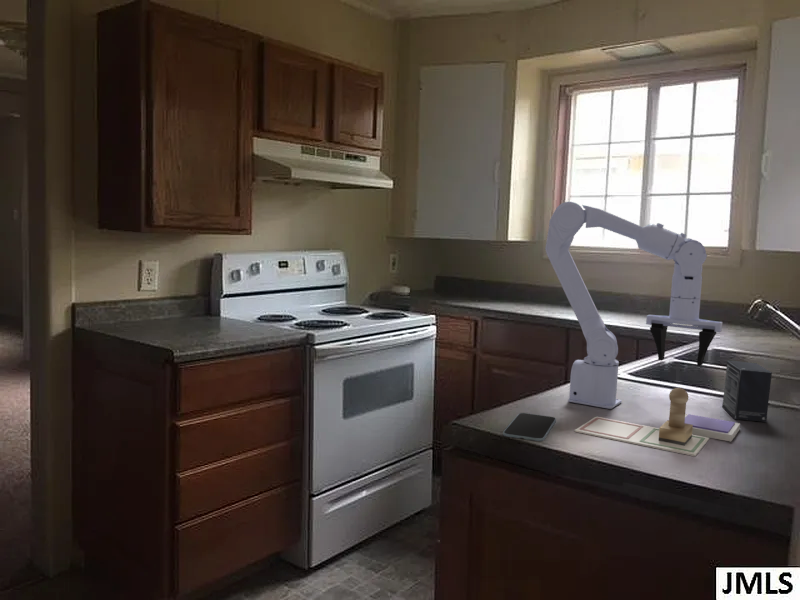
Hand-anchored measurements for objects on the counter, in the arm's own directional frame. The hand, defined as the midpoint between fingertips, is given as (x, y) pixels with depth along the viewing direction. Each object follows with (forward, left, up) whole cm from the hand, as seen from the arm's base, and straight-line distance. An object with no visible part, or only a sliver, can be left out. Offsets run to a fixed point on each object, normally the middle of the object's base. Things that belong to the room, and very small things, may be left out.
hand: (680, 362), depth 144 cm
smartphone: (-19, -32, -11) cm, 39 cm away
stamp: (+5, -22, -10) cm, 25 cm away
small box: (+12, +7, -11) cm, 18 cm away
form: (-1, -23, -10) cm, 25 cm away
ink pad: (+8, -11, -10) cm, 17 cm away
